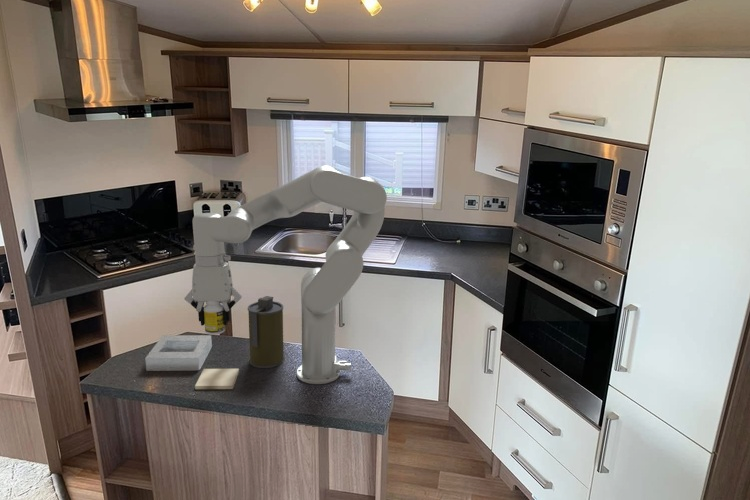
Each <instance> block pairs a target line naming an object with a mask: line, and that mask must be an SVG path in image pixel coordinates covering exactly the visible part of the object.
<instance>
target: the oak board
mask: <svg viewBox="0 0 750 500" xmlns="http://www.w3.org/2000/svg"><path fill="white" fill-rule="evenodd" d="M239 373H240V368H203V369H202V371H201V374H200V375H199V377H198V379H197V381H196V383H195V385H194V389H195V390H234V387H235V384H236V381H237V378H238V376H239Z"/></svg>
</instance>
